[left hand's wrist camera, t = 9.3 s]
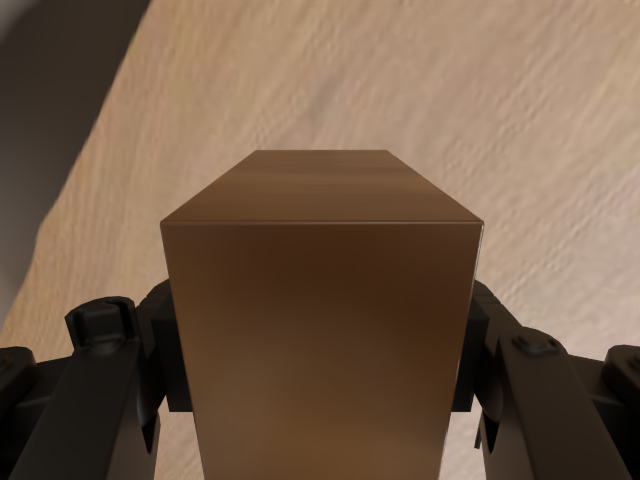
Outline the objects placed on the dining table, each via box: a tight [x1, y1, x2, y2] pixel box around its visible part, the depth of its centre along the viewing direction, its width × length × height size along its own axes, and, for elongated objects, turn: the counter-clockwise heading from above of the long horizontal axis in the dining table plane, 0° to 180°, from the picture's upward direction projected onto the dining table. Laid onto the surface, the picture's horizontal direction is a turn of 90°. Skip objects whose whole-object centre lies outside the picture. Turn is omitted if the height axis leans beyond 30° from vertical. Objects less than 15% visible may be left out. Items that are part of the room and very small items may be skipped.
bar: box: [160, 150, 484, 480], centre depth 14 cm, size 24×5×9 cm, turn 0°
